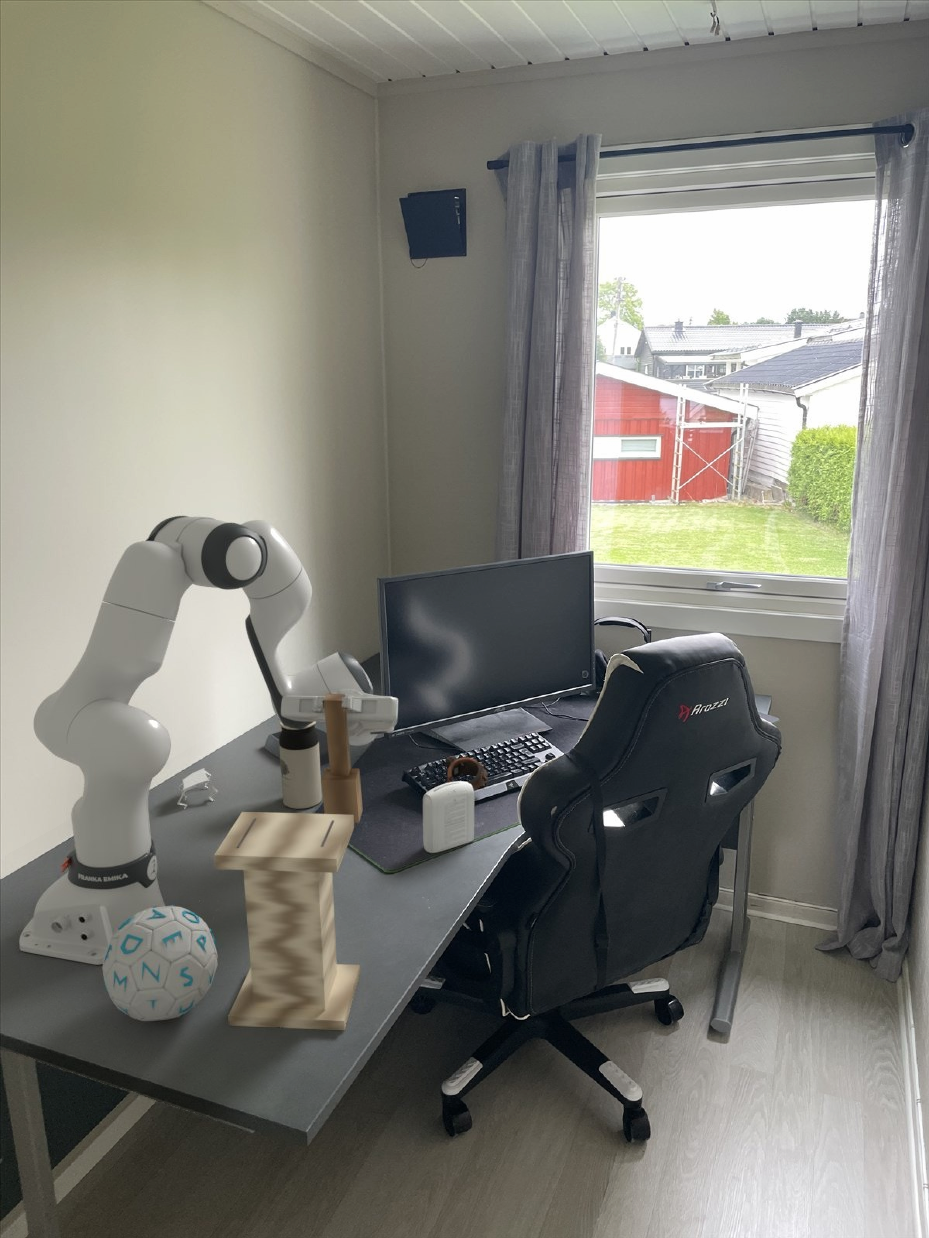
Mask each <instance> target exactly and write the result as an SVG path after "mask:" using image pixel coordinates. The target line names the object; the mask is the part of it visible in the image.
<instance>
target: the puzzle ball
mask: <svg viewBox="0 0 929 1238" xmlns="http://www.w3.org/2000/svg"><path fill="white" fill-rule="evenodd" d="M212 932H213V931H212V928H209V925H208V924H207V922H205V921H204V920H203V918H202V917H201V916H198V915H197V914H196V913H195V912H193V911H191V910H189V909H187V908H184V907H182V906H175V905H174V904H170V905H167V906H166V905H165V906H164V907H157V906H154V907H152V908H149V909H146V910H143V911H141V912H139V913H137V914H135V915H134V916H133V917H131V918H130V919H128V920H127V921H125V922H124V923H122V925H121V926H120V927H119V928H118V930H117V931H116V932H115V934H114V935H113V936H112V938H111V940H110V942H109V944H108V947H107V949H106V952H105V955H104V959H103V964H102V975H103V977H102V978H103V984H104V988H105V991H106V993H107V995H108V997H109V998H110V1000H111V1001H112V1003H113V1005H115V1006H116V1008H117V1009H118V1010H119V1011H121V1012H122V1013H124V1014H125V1015H127V1016H129V1017H130V1018H132V1019H134V1020H139V1021H141V1022H152V1021H163V1020H164V1021H165V1020H171V1019H176V1018H179V1017H181V1016H182V1015H185V1014H186V1013H188V1012H189V1011H190V1010H191V1009H193V1007H195V1006H196V1005H198V1004H199V1002H200V1001H201V1000H202V999H203V998H204V997H205V996H206V993H208V991H209V989H210V988H211V986H212V984H213V981H214V977H215V974H216V972H217V968H218V963H219V962H218V952H217V948H218V946H217V941H216V939H215V936H214V933H212Z"/></svg>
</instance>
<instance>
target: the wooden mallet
mask: <svg viewBox="0 0 929 1238" xmlns="http://www.w3.org/2000/svg"><path fill="white" fill-rule="evenodd" d="M342 697H345V694H326V696H325V698H324V710H325V720H326V727H325V730H326V731H325V732H326V733H327V742H328V752H329V763H330V765H329V767H324V770H323V774H322V775H321V794H322V800H323V811H324V812H323V814H344V815H354V824H360V822H361V821H360V820H361V818H362V817H361V816H362V813H363V800H362V799H363V798H362V786H361V775H360V774H361V773H360V772H361V771H360V768H356V767H355V768H352V764H351V763H352V762H351V749H350V744H349V737H348V725H347V713H346V709H343V708H342V702H343V701H342Z"/></svg>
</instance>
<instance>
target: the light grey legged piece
mask: <svg viewBox="0 0 929 1238" xmlns="http://www.w3.org/2000/svg"><path fill="white" fill-rule="evenodd" d="M211 776H212V774H210V773H209V772H208V771H206V768H205V767H204V768H201V769H199V770H196V771H194V772H191V774H189V775H188V776H186V777H185V778H183V779H181V781H182V782H181V784H180V785H179V786H178V788H177V790H179V792H180V793H181V795H180V798H179V799H178V801H177V803H176V804H177V805H179V806H184V807H183V808H184V809H186V808H187V807H188V804H185V803H181V801H182V799H183V797H184V799H185V801H186V800H187V796H186V794H185V793H186V792H187V791H189V790H191V789H194V788H196V787H199V786H202V785H204V788H205V789H207V788H208V786H209V788H210V789H212V790H213V791H212V792H211V793H210V794H209V795H208V796H207V798H208V799H209V800H210V801H211V802H212V801H213V800H214V799H213V798H212V797H213V796H214V795H216V794H217V795H218V794H219V791H218V790H217V789H216V788H215V786H213V785H212V784H211V780H210V778H211ZM207 785H208V786H207ZM182 786H183V789H182Z"/></svg>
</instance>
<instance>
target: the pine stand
mask: <svg viewBox="0 0 929 1238" xmlns="http://www.w3.org/2000/svg"><path fill="white" fill-rule="evenodd" d="M239 814H240V815H239V816H238V817H237V819H236V821H235V822H234V823H233V826H232V827H231V828H230V830H229V831H228V833H227V835H226V836H225V838H224V839H223V841H222V842H221V844H220V845H219V847H218V849H217V850H216V852H215V853H214V855H213V859H214V868H215V870H231V871H232V870H236V871H238V870H239V871H242V873H243V883H244V884H243V885H244V896H245V907H246V908H245V909H246V910H245V911H246V920H247V921H246V923H247V936H248V946H249V947H248V948H249V960H250V968H249V970H248V973H247V974H246V976H245V979H244V981H243V983H242V986H241V987H240V990H239V992H238V994H237V997H236V998H235V1001H234V1003H233V1005H232V1007H231V1010H230V1011H229V1013H228V1015H227V1019H228V1026H230V1027H231V1026H232V1027H255V1028H256V1027H257V1028H260V1027H261V1028H276V1027H277V1028H276V1029H282V1027H283V1029H303V1030H304V1029H305V1030H328V1031H346V1026H347V1024H346V1023H347V1022H348V1020H349V1016H350V1012H351V1009H350V1008H352V1004H353V1002H354V998H353V997H355V995H354V993H355V994H356V991H355V989H357V987H358V984H357V982H358V983H359V980H360V977H359V975H360V976H361V965H360V964H340V963H338V962H337V945H336V944H337V943H336V925H335V924H336V922H335V920H336V919H335V903H334V886H333V885H334V881H333V880H334V878H333V874H334V873H335V874H337V873H338V871H339V869H340V865H341V864H342V861H343V858H344V856H345V854H346V851H347V848H348V845H349V842H350V839H351V837H352V834H353V833H354V832H353V831H354V829H355V823H354V815H344V814H325V813H304V812H303V813H300V812H298V813H297V812H267V811H266V812H265V811H264V812H261V811H260V812H259V811H241V813H239ZM358 979H359V980H358ZM356 986H357V987H356ZM352 1001H353V1002H352ZM278 1027H280V1028H278Z"/></svg>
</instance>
